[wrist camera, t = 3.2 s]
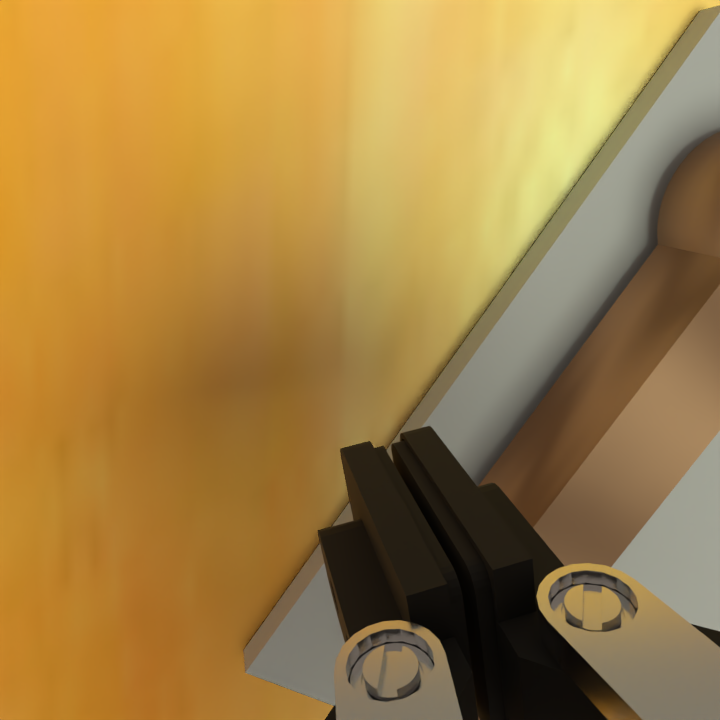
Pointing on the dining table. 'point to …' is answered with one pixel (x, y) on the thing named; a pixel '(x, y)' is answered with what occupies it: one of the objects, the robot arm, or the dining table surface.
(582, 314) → the jig board
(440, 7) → the dining table surface
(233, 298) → the dining table surface
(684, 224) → the lever
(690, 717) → the robot arm
